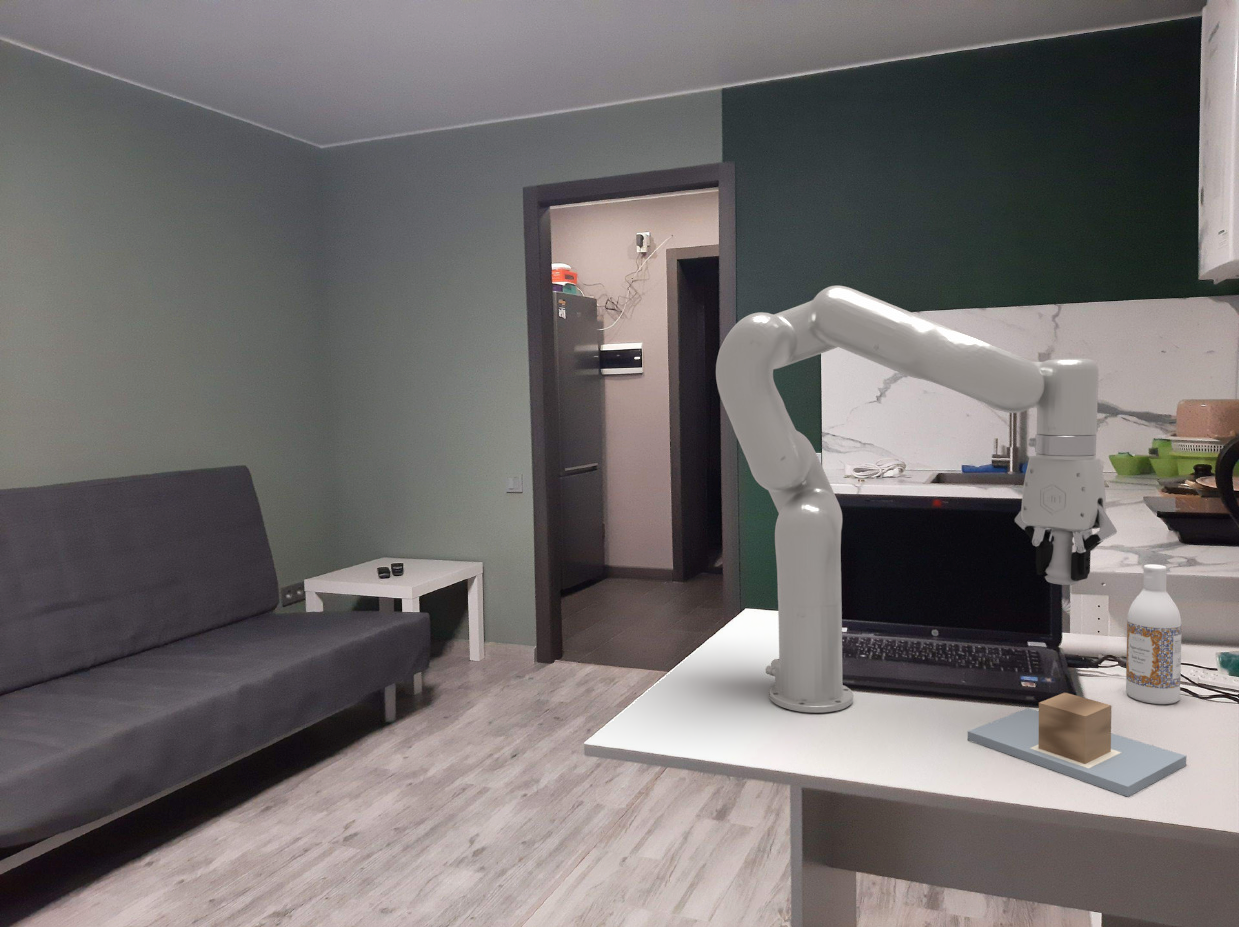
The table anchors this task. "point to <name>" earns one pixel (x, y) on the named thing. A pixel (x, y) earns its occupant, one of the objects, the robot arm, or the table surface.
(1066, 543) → the rook chess piece
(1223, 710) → the table surface
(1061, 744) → the walnut cube
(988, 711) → the table surface
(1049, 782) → the table surface
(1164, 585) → the bath foam
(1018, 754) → the build board
